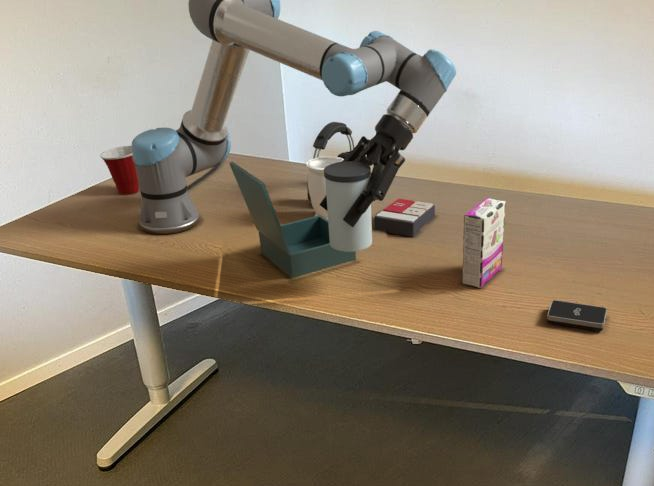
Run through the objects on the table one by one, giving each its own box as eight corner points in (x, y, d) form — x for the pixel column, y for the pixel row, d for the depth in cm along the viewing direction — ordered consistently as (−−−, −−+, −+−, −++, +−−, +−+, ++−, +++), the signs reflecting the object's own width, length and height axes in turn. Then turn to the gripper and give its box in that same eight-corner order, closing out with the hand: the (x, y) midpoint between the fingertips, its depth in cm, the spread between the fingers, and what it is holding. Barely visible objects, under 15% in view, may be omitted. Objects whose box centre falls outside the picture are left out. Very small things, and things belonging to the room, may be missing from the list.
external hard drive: (551, 308, 149) (552, 299, 148) (606, 316, 146) (608, 307, 145) (545, 324, 144) (547, 315, 143) (603, 333, 141) (604, 324, 140)
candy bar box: (482, 264, 167) (486, 196, 158) (502, 269, 165) (507, 200, 156) (460, 284, 159) (463, 213, 150) (480, 289, 157) (485, 218, 148)
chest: (322, 238, 181) (320, 214, 177) (356, 262, 169) (355, 237, 166) (261, 255, 173) (258, 230, 170) (292, 281, 162) (290, 255, 158)
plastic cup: (113, 185, 216) (103, 145, 209) (150, 183, 217) (141, 143, 210) (105, 198, 207) (95, 157, 200) (144, 196, 208) (135, 155, 201)
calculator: (435, 202, 190) (413, 220, 178) (435, 218, 192) (413, 236, 180) (397, 196, 194) (373, 213, 182) (397, 212, 196) (373, 230, 184)
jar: (344, 227, 187) (341, 170, 178) (305, 224, 188) (301, 168, 180) (353, 211, 195) (351, 156, 187) (317, 209, 197) (313, 154, 189)
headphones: (346, 180, 216) (343, 112, 204) (365, 183, 213) (362, 114, 202) (305, 205, 199) (299, 132, 188) (325, 209, 197) (320, 135, 186)
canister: (327, 235, 156) (322, 162, 148) (370, 232, 157) (367, 159, 149) (330, 253, 149) (325, 178, 140) (375, 250, 150) (373, 175, 141)
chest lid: (232, 161, 158) (228, 162, 158) (264, 182, 147) (260, 184, 147) (259, 228, 170) (256, 229, 170) (291, 252, 158) (288, 254, 158)
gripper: (442, 148, 141) (375, 242, 143) (382, 123, 156) (322, 209, 158) (420, 125, 136) (351, 223, 138) (360, 101, 151) (298, 190, 153)
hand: (335, 216), depth 148 cm, fingers closed on canister, 9 cm apart
